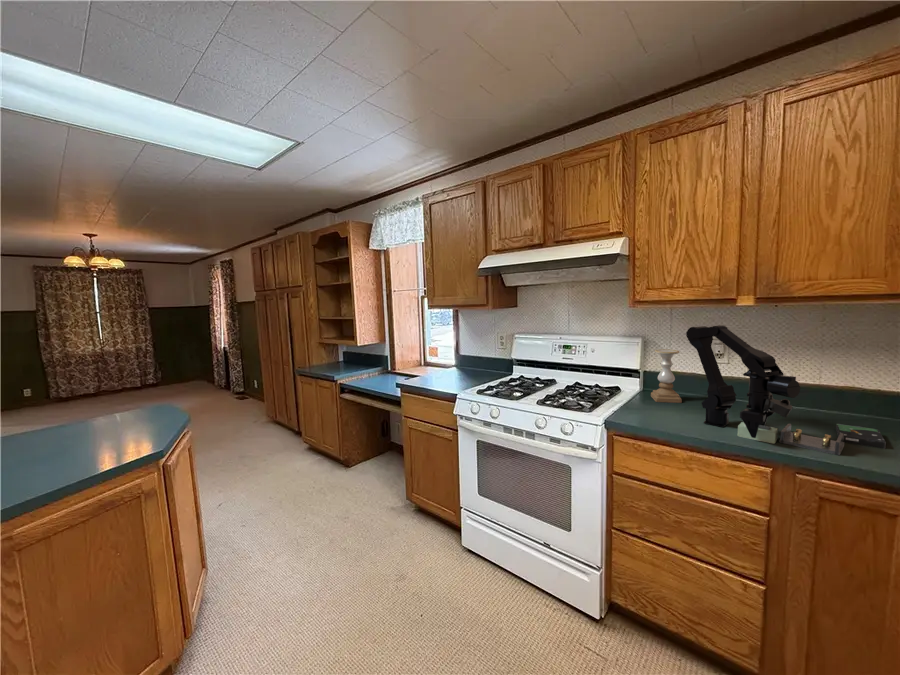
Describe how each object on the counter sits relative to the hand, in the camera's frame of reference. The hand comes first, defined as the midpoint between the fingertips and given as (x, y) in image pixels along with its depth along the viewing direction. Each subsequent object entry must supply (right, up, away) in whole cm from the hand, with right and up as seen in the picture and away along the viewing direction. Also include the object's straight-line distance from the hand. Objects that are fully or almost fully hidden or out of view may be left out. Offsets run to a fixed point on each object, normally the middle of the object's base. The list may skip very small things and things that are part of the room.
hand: (757, 434), depth 129 cm
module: (0, -1, 0) cm, 2 cm away
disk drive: (+31, -1, -4) cm, 32 cm away
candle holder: (-3, +4, +49) cm, 50 cm away
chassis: (+12, -1, -7) cm, 14 cm away
